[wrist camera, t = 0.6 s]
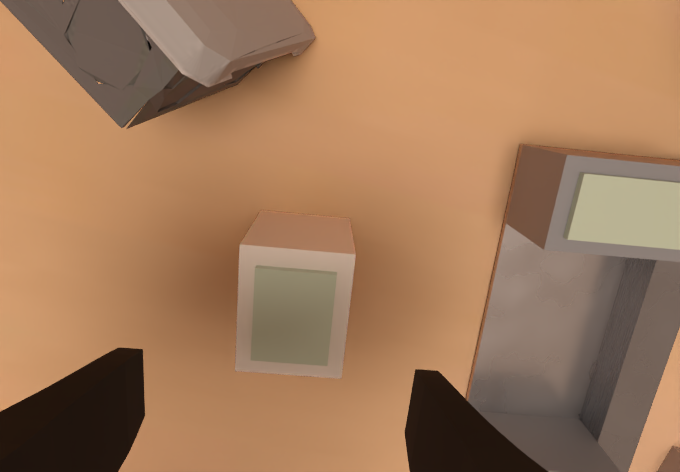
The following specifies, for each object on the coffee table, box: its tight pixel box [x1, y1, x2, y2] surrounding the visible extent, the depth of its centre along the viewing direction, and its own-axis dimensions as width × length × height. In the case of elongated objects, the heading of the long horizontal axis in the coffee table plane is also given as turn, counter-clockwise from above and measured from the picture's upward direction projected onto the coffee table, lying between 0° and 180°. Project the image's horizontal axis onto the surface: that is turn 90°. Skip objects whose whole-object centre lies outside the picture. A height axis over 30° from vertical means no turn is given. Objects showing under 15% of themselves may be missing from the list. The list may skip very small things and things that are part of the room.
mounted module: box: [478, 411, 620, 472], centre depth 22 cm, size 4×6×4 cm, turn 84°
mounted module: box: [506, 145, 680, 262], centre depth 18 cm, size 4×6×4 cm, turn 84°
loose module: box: [235, 210, 356, 379], centre depth 18 cm, size 5×4×5 cm
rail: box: [466, 144, 680, 472], centre depth 21 cm, size 17×8×2 cm, turn 174°
